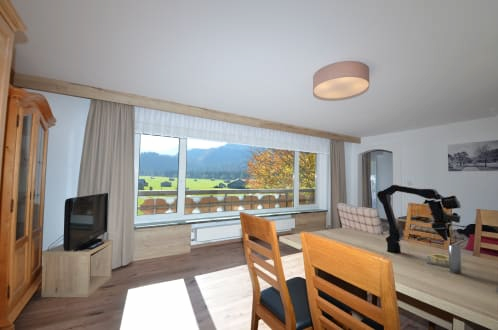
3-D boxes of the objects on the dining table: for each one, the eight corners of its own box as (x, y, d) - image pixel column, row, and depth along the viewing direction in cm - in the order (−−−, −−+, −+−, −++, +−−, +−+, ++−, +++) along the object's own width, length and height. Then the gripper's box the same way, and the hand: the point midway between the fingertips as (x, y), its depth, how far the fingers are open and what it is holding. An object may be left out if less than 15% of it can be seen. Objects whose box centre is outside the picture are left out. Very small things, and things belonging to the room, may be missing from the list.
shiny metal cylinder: (449, 272, 108) (448, 245, 109) (449, 269, 111) (448, 244, 112) (462, 275, 105) (460, 247, 106) (461, 272, 108) (459, 245, 109)
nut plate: (427, 263, 119) (427, 257, 120) (427, 257, 128) (427, 251, 129) (457, 269, 112) (457, 262, 112) (455, 263, 121) (455, 256, 121)
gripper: (452, 210, 111) (465, 241, 108) (458, 206, 123) (469, 234, 119) (426, 213, 119) (437, 242, 116) (433, 209, 131) (444, 236, 128)
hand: (447, 238), depth 119 cm, fingers open, 9 cm apart
